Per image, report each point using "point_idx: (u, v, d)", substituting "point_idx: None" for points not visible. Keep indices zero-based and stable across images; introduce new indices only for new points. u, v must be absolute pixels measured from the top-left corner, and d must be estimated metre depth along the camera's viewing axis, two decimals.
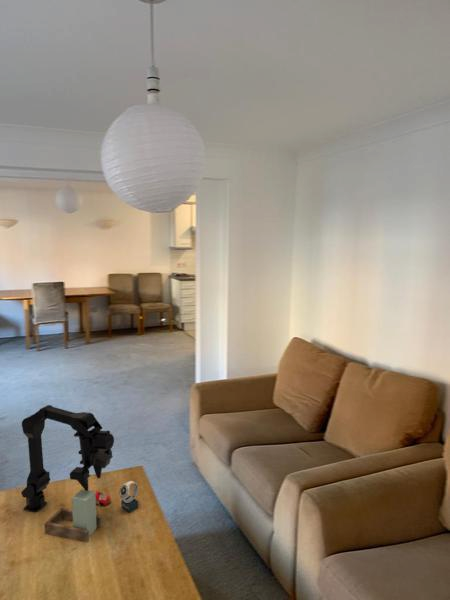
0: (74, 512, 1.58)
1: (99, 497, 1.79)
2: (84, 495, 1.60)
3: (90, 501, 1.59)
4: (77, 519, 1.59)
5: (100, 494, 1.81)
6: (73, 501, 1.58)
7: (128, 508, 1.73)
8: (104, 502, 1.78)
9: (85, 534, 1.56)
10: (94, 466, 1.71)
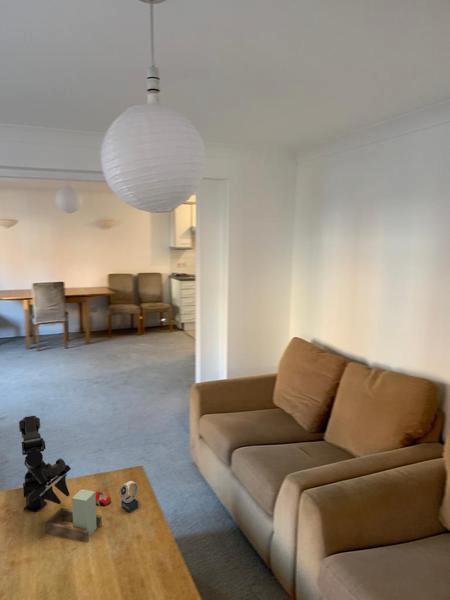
0: (74, 512, 1.58)
1: (99, 497, 1.79)
2: (84, 495, 1.60)
3: (90, 501, 1.59)
4: (77, 519, 1.59)
5: (100, 494, 1.81)
6: (73, 501, 1.58)
7: (128, 508, 1.74)
8: (104, 502, 1.78)
9: (85, 534, 1.56)
10: (59, 487, 1.66)
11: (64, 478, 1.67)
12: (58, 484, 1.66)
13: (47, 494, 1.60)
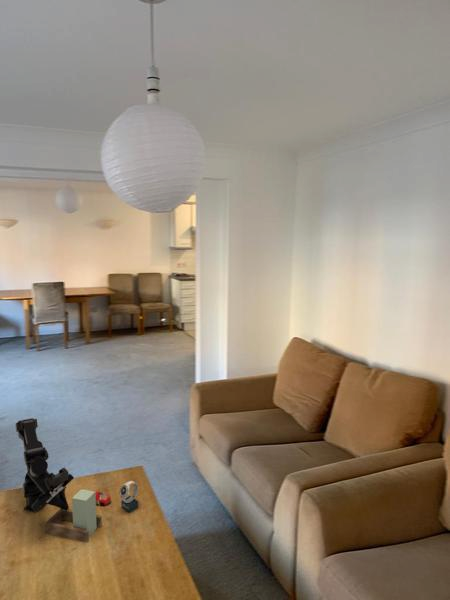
0: (74, 512, 1.58)
1: (99, 497, 1.79)
2: (84, 495, 1.60)
3: (90, 501, 1.59)
4: (77, 519, 1.59)
5: (100, 494, 1.81)
6: (73, 501, 1.58)
7: (128, 508, 1.73)
8: (104, 502, 1.78)
9: (85, 534, 1.56)
10: None
11: (63, 491, 1.64)
12: None
13: (54, 500, 1.62)
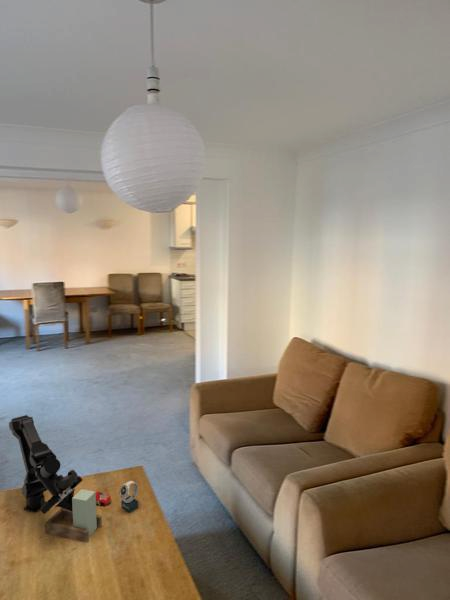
0: (74, 512, 1.58)
1: (99, 497, 1.79)
2: (84, 495, 1.60)
3: (90, 501, 1.59)
4: (77, 519, 1.59)
5: (100, 494, 1.81)
6: (73, 501, 1.58)
7: (128, 508, 1.73)
8: (105, 502, 1.78)
9: (85, 534, 1.56)
10: None
11: (72, 493, 1.63)
12: None
13: (63, 502, 1.61)
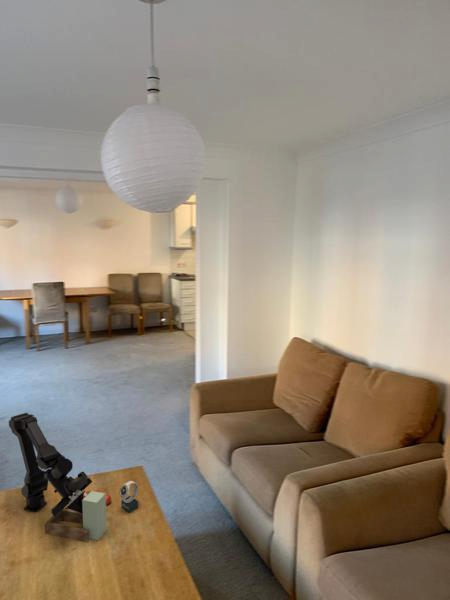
0: (84, 514, 1.57)
1: None
2: (94, 497, 1.58)
3: (101, 503, 1.58)
4: (87, 521, 1.57)
5: None
6: (83, 503, 1.57)
7: (128, 508, 1.74)
8: None
9: (85, 534, 1.56)
10: None
11: (82, 495, 1.62)
12: None
13: (73, 504, 1.60)
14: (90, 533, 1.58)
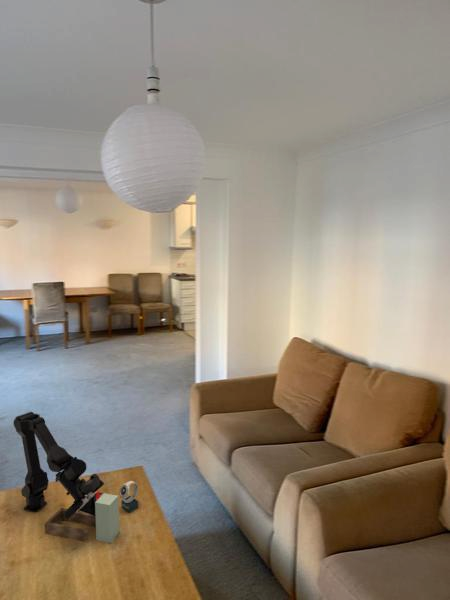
0: (97, 517, 1.56)
1: None
2: (107, 499, 1.57)
3: (113, 505, 1.57)
4: (100, 524, 1.56)
5: (101, 494, 1.81)
6: (96, 505, 1.55)
7: (128, 508, 1.73)
8: None
9: (85, 534, 1.56)
10: None
11: (95, 497, 1.61)
12: None
13: (86, 507, 1.59)
14: (102, 535, 1.56)
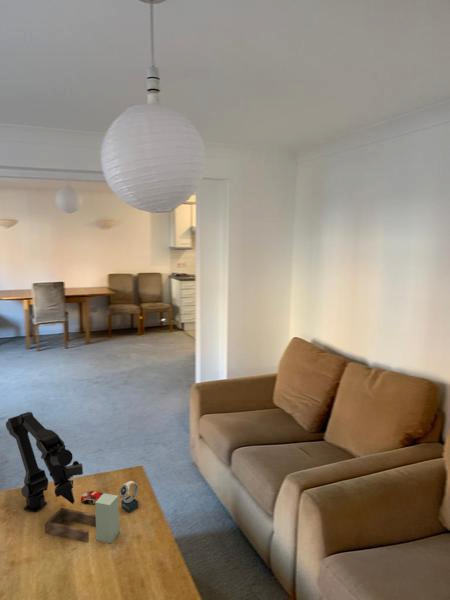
0: (97, 517, 1.56)
1: None
2: (107, 499, 1.57)
3: (113, 505, 1.57)
4: (100, 524, 1.56)
5: (101, 494, 1.81)
6: (96, 505, 1.55)
7: (128, 508, 1.73)
8: None
9: (85, 534, 1.56)
10: None
11: None
12: None
13: None
14: (102, 535, 1.56)
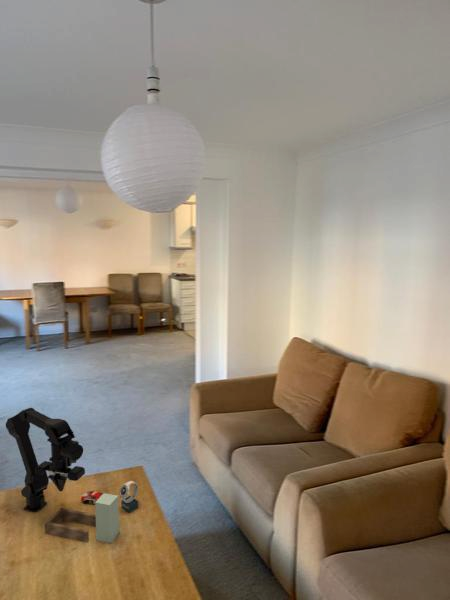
0: (97, 517, 1.56)
1: None
2: (107, 499, 1.57)
3: (113, 505, 1.57)
4: (100, 524, 1.56)
5: (101, 494, 1.81)
6: (96, 505, 1.55)
7: (128, 508, 1.73)
8: None
9: (85, 534, 1.56)
10: (57, 480, 1.66)
11: None
12: (57, 477, 1.66)
13: None
14: (102, 535, 1.56)
